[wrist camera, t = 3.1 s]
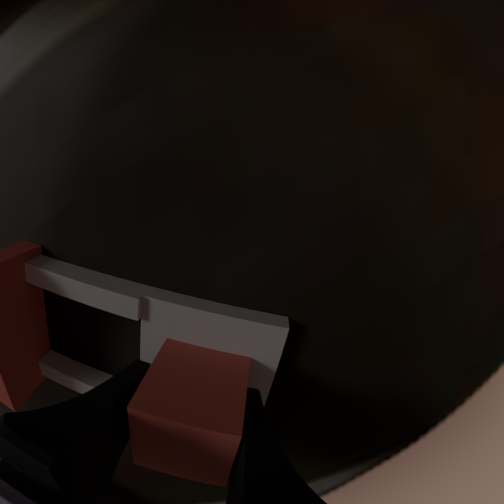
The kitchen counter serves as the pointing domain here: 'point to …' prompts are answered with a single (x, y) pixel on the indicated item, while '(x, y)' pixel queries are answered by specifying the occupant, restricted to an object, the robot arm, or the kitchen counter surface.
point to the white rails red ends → (145, 359)
